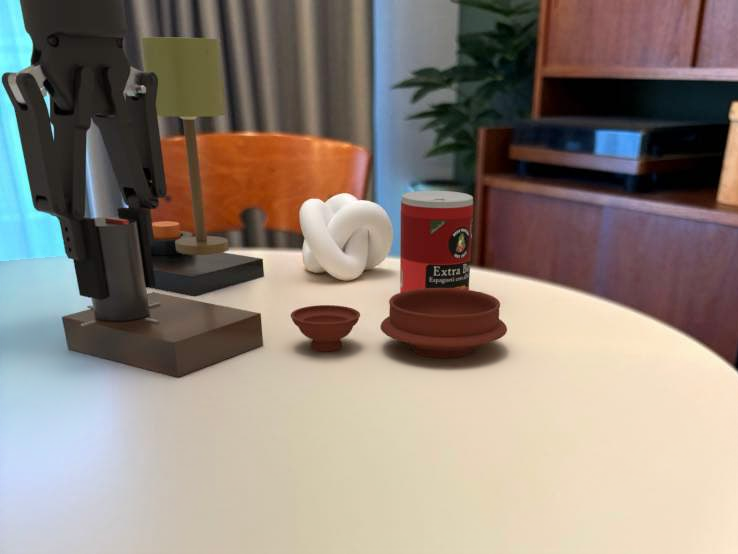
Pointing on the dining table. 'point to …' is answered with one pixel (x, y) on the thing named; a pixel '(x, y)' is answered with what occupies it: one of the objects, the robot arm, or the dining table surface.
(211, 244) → the desk lamp
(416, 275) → the canned food
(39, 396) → the dining table surface
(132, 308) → the dimmer knob
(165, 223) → the lamp switch
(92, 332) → the panel
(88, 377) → the dining table surface
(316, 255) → the white knot sculpture
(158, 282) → the lamp base
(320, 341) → the pottery
